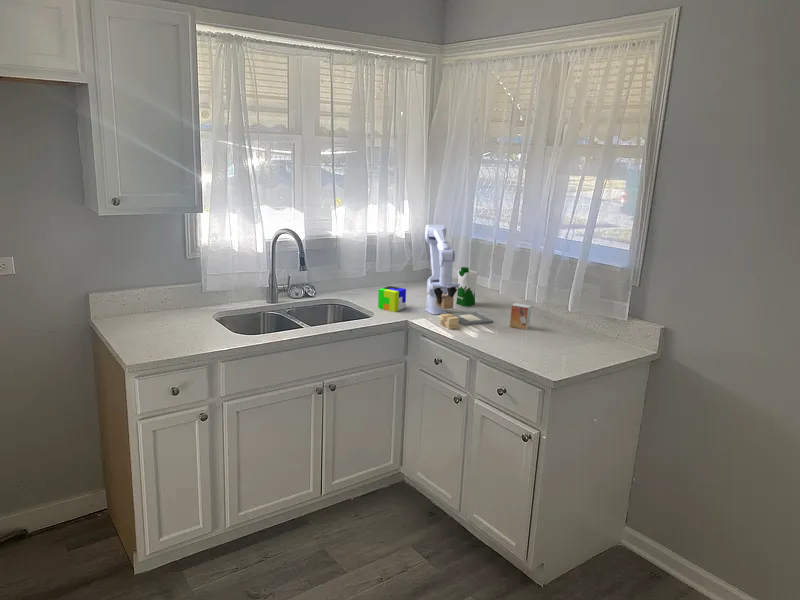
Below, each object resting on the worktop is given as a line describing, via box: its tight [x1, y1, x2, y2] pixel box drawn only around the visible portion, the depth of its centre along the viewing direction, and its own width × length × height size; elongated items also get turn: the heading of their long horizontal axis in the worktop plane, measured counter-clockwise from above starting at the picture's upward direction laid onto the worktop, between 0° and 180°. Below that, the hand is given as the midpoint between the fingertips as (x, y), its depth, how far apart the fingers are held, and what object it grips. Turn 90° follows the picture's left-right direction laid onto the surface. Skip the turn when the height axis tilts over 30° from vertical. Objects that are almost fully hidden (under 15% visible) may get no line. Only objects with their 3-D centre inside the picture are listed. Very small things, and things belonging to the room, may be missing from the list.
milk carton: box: [455, 266, 479, 308], centre depth 318 cm, size 9×9×20 cm
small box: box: [509, 302, 532, 331], centre depth 283 cm, size 8×6×10 cm
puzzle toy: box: [377, 285, 407, 313], centre depth 307 cm, size 10×10×10 cm
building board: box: [451, 311, 494, 326], centre depth 293 cm, size 16×16×1 cm
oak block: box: [439, 313, 460, 330], centre depth 280 cm, size 8×5×5 cm, turn 26°
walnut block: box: [436, 294, 455, 310], centre depth 288 cm, size 8×5×5 cm, turn 25°
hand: (444, 303), depth 288 cm, fingers closed on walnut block, 5 cm apart
